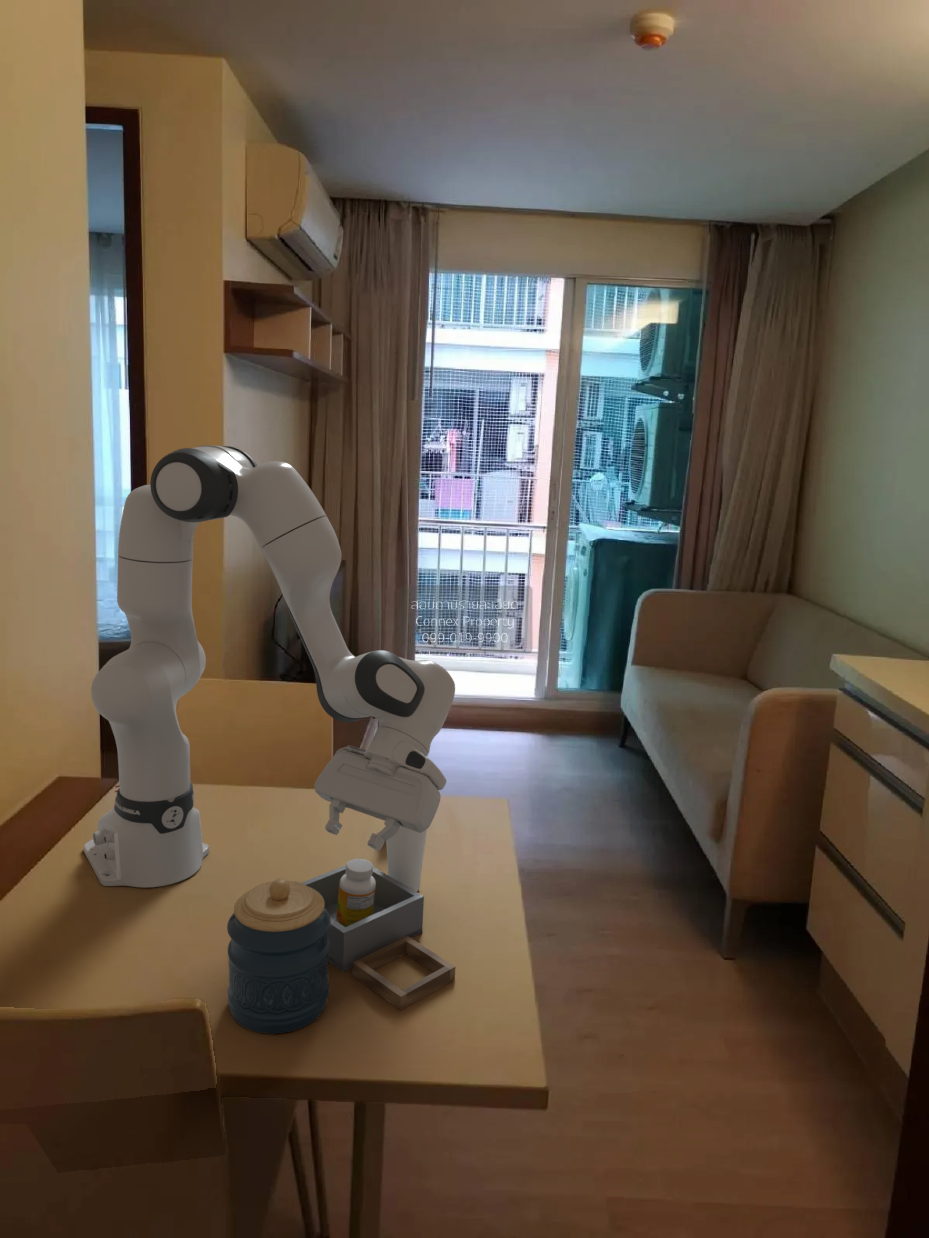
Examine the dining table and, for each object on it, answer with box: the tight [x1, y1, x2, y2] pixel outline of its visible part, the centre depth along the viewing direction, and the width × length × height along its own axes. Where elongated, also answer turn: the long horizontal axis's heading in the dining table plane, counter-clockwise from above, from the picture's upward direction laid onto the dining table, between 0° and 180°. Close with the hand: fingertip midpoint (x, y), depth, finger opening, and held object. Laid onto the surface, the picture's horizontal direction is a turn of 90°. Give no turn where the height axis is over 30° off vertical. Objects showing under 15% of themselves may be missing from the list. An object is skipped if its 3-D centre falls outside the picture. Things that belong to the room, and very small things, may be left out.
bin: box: [301, 864, 425, 973], centre depth 132 cm, size 15×15×6 cm
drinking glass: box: [385, 826, 428, 893], centre depth 144 cm, size 7×7×15 cm
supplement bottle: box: [336, 858, 376, 927], centre depth 131 cm, size 5×5×10 cm
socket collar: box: [352, 936, 456, 1011], centre depth 121 cm, size 10×10×2 cm
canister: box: [226, 878, 331, 1034], centre depth 113 cm, size 13×13×18 cm
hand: (351, 839), depth 129 cm, fingers open, 7 cm apart
